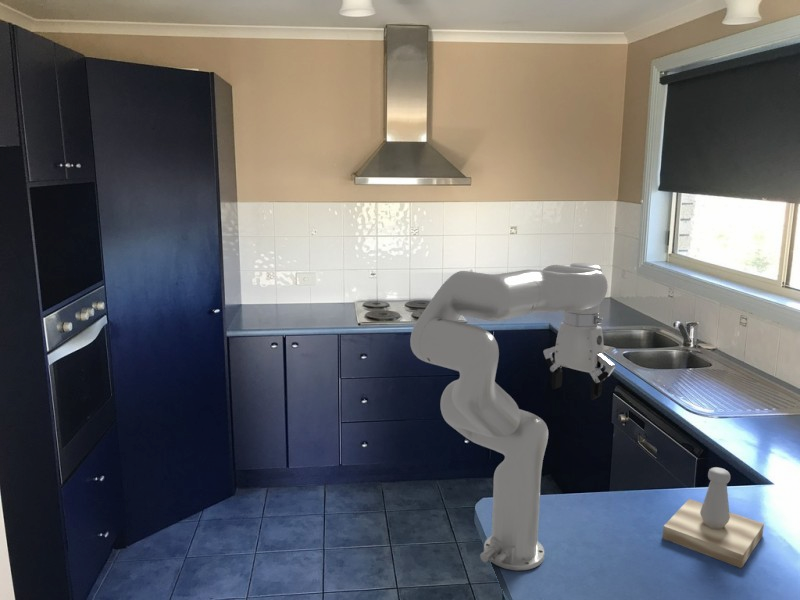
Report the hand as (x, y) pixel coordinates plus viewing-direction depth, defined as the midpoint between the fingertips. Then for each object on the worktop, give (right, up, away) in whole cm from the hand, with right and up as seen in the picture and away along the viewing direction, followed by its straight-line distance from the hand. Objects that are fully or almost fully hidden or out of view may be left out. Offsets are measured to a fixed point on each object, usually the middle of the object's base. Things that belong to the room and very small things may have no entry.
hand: (575, 392), depth 147 cm
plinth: (+29, -31, -4) cm, 43 cm away
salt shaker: (+29, -29, -5) cm, 41 cm away
